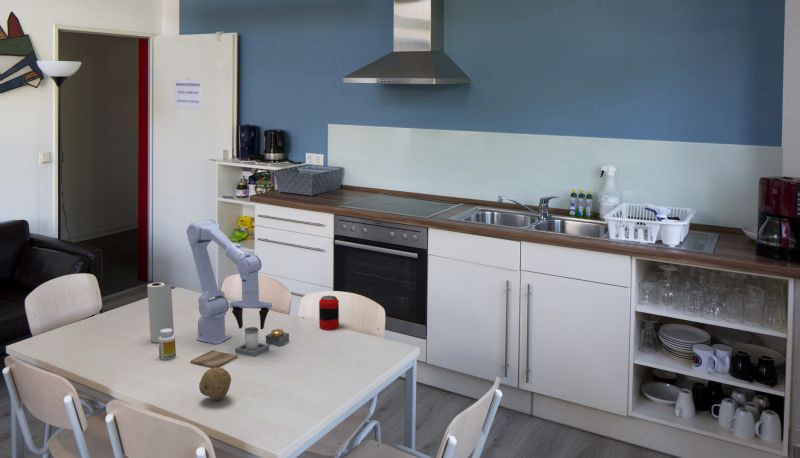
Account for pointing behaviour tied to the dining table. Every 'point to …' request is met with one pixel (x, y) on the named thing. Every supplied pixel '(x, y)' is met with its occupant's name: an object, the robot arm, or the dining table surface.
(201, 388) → the potato
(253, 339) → the cylinder
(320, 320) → the soda can
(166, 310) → the paper towel roll
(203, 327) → the robot arm
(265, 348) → the collar
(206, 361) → the pad
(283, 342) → the plunger base
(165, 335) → the supplement bottle
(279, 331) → the plunger
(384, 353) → the dining table surface
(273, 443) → the dining table surface
